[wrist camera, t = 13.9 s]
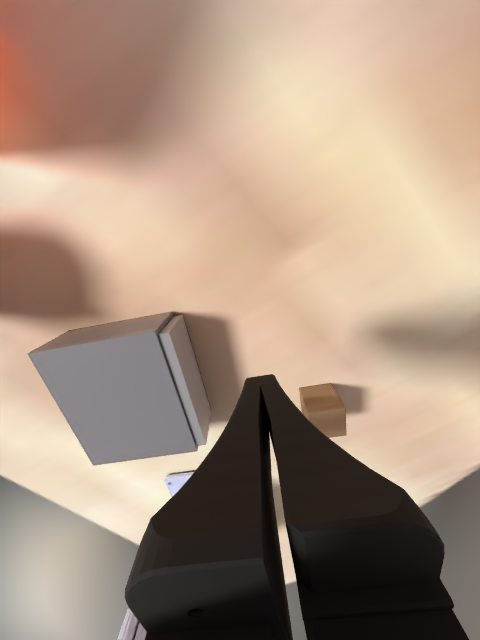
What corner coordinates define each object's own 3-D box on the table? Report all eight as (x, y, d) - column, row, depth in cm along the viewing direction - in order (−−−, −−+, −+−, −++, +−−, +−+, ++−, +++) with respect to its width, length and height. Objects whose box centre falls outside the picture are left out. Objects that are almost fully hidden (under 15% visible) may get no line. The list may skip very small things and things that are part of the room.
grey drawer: (211, 412, 24) (205, 444, 20) (122, 425, 25) (101, 459, 21) (182, 314, 20) (169, 332, 17) (78, 333, 21) (42, 355, 17)
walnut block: (332, 407, 24) (346, 435, 21) (302, 412, 24) (311, 439, 21) (330, 383, 23) (345, 407, 20) (299, 388, 23) (308, 413, 20)
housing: (204, 414, 25) (197, 451, 20) (117, 427, 25) (93, 465, 21) (172, 311, 20) (154, 330, 16) (69, 330, 21) (27, 353, 17)
